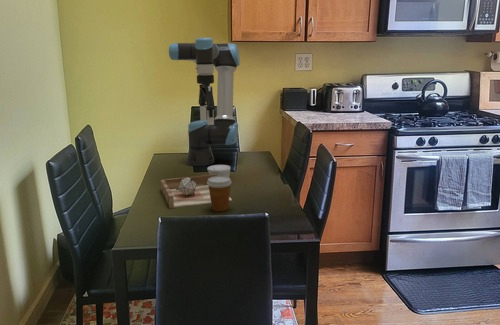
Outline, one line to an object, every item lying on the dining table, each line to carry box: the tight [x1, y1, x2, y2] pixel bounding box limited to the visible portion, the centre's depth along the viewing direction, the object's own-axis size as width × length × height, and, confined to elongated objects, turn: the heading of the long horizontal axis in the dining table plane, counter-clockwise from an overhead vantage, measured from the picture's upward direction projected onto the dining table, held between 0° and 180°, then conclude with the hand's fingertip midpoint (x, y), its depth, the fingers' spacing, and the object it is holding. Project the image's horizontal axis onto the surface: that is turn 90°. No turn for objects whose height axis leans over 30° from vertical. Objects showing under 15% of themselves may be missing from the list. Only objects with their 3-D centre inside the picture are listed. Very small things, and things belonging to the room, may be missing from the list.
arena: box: [160, 174, 233, 209], centre depth 193 cm, size 24×26×5 cm
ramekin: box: [206, 164, 232, 178], centre depth 219 cm, size 11×11×5 cm
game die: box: [176, 175, 198, 198], centre depth 191 cm, size 9×8×10 cm
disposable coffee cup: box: [207, 176, 233, 212], centre depth 177 cm, size 10×10×12 cm
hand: (206, 122), depth 203 cm, fingers open, 13 cm apart
